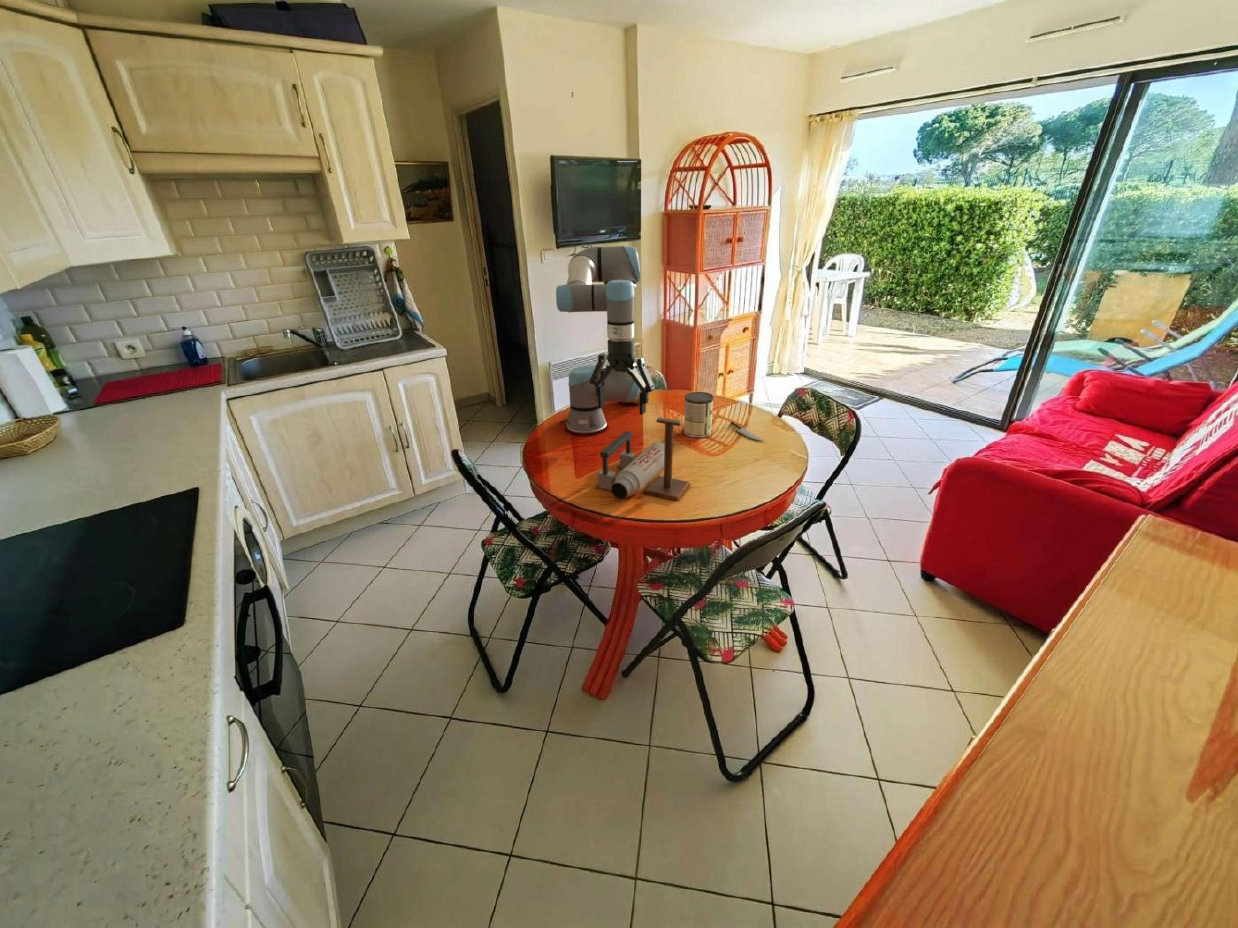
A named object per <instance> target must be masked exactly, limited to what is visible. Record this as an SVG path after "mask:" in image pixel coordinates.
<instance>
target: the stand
mask: <svg viewBox="0 0 1238 928" xmlns="http://www.w3.org/2000/svg"><path fill="white" fill-rule="evenodd" d="M656 423H659V424H663V425H664V444H665V448H664V467H663V476H662V475H657V477H656V478H655V479H653V481H652V482H651V483H649V486H647V487H646V488H645V490H644V491H645V492H644V494H647V495H650V496H655V497H659V498H663V499H668V500H673V501H678V500H679V499H680V498H681V496H682V495H683V494H684V493H685V492H686V490H687V489H688V488H689V486H690V481H687V480H681V479H677V478H673V460H674V458H673V455H674V430H675V429H674V427H675V426H676V427H681V426H682V425H683V424H684V421H683V420H677V419H670V418H665V417H658V418H657V419H656Z"/></svg>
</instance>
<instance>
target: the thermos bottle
mask: <svg viewBox="0 0 1238 928" xmlns="http://www.w3.org/2000/svg"><path fill="white" fill-rule="evenodd" d="M664 448H665V442H664V443H663V442H661V441H656V442H653V443H652V444H650V445H649V446H648V447H647V448H646V449H645V450H643V451H641V453H640V454H639V455H638V456H637V457H635V459H634V460H633V461H632V462H631V463H629V464H628V465H627V466H626V467H625V468H624V469H623V468H622V469H621V470H620V471H618V473H617V475H616V476H615V482H614V485H613V486H612V488H611V490H610V491H611V494H612V495H613V497H614V498H616V499H617V500H624V499H626V498H627V497H631V496H635V495H637V494H638V493H639V492H640V491H641V490H642V489H643V488H644V487H645V486H646V485H647V484H648V483H650V482H651V481H652V479H654V477H656V476H657V475H658V474H659V473H660V471H662V469H664Z"/></svg>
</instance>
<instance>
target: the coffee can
mask: <svg viewBox="0 0 1238 928" xmlns="http://www.w3.org/2000/svg"><path fill="white" fill-rule="evenodd" d="M714 398H715V397H714V395H713V394H711V393H709V392H704V391H692V392H688V393H686V394H685V395H684V418H683V419H684V421H683V434H684V435H686V436H688V437H690V438H706V437H709V436H711V434H712V425H713V423H712V421H713V411H714V410H713V409H714V408H713V407H714Z"/></svg>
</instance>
